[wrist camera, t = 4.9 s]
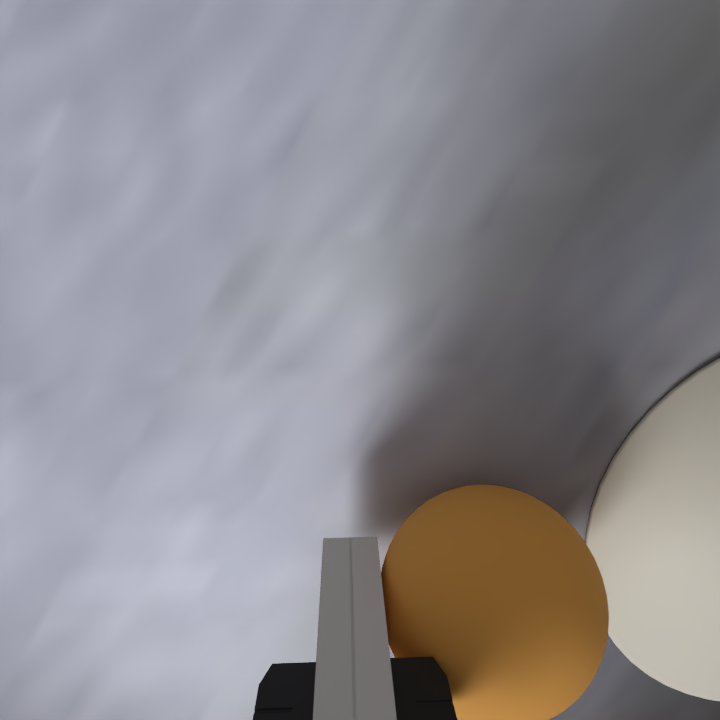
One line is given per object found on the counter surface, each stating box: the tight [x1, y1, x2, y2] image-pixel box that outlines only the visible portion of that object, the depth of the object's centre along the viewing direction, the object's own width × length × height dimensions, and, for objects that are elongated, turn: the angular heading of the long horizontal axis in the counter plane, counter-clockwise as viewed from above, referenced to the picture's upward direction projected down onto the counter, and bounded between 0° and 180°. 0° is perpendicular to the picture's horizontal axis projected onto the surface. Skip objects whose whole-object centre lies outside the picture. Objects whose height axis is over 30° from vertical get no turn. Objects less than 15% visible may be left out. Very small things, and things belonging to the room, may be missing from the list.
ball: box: [381, 484, 609, 720], centre depth 13 cm, size 6×6×6 cm
